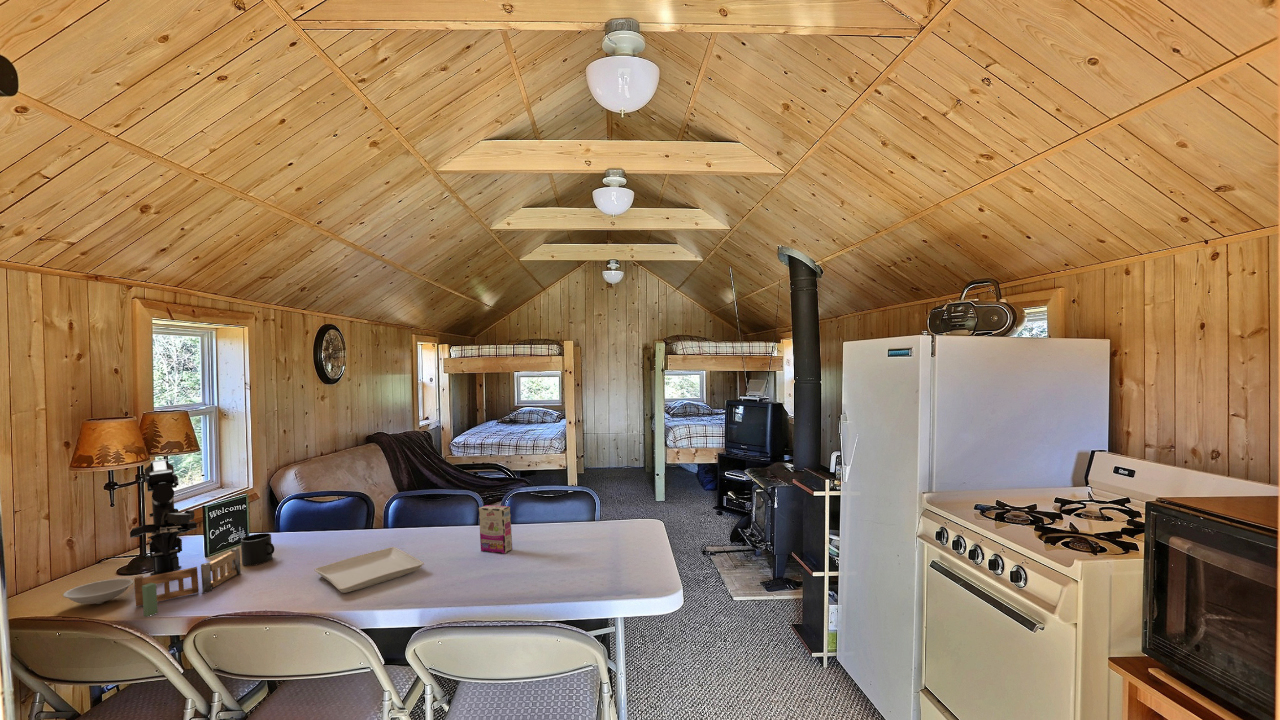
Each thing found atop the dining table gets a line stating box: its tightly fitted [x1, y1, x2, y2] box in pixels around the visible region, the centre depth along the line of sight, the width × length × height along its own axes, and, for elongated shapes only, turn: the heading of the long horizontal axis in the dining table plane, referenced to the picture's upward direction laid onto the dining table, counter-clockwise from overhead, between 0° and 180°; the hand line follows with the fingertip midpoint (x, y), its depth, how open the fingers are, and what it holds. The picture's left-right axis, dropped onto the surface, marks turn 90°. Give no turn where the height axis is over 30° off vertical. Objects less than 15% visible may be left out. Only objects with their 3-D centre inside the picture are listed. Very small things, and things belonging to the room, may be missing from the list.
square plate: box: [314, 546, 425, 594], centre depth 197 cm, size 27×27×4 cm
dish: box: [62, 578, 135, 605], centre depth 183 cm, size 18×14×5 cm
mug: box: [240, 532, 275, 566], centre depth 216 cm, size 9×12×9 cm
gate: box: [133, 566, 200, 607], centre depth 183 cm, size 15×2×8 cm, turn 125°
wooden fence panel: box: [200, 547, 242, 594], centre depth 196 cm, size 2×17×9 cm, turn 1°
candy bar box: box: [478, 504, 513, 554], centre depth 216 cm, size 11×5×16 cm, turn 68°
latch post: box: [142, 583, 159, 617], centre depth 173 cm, size 2×2×9 cm
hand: (166, 554), depth 193 cm, fingers closed
